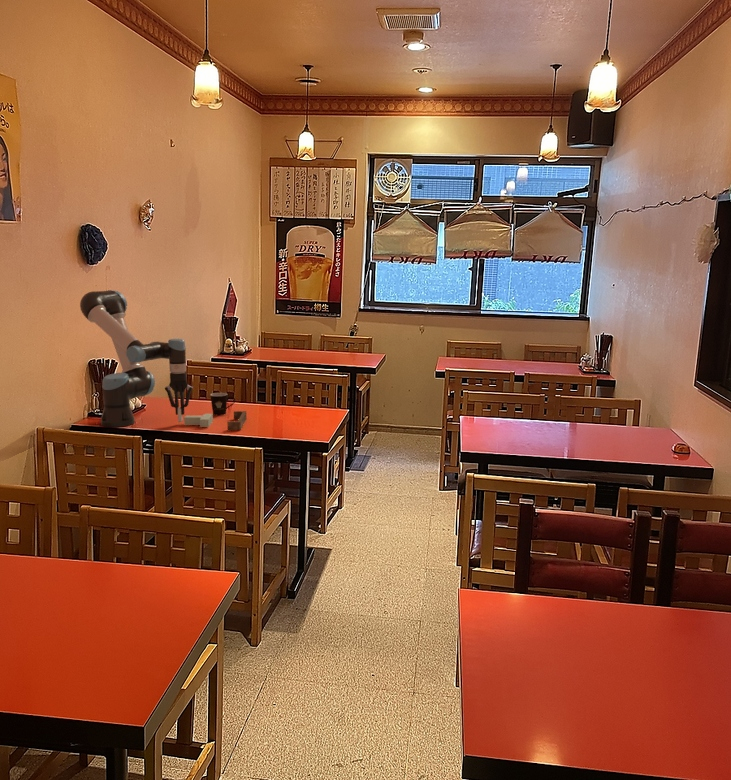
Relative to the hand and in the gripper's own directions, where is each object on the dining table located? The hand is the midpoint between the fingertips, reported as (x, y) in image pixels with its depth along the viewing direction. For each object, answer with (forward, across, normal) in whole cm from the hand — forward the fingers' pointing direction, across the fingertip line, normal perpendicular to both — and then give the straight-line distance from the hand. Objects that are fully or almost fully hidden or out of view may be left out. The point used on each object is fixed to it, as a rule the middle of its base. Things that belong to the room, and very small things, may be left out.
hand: (180, 421), depth 330 cm
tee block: (+2, +8, 0) cm, 8 cm away
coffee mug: (+2, +16, +22) cm, 28 cm away
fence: (+2, +27, 0) cm, 27 cm away
